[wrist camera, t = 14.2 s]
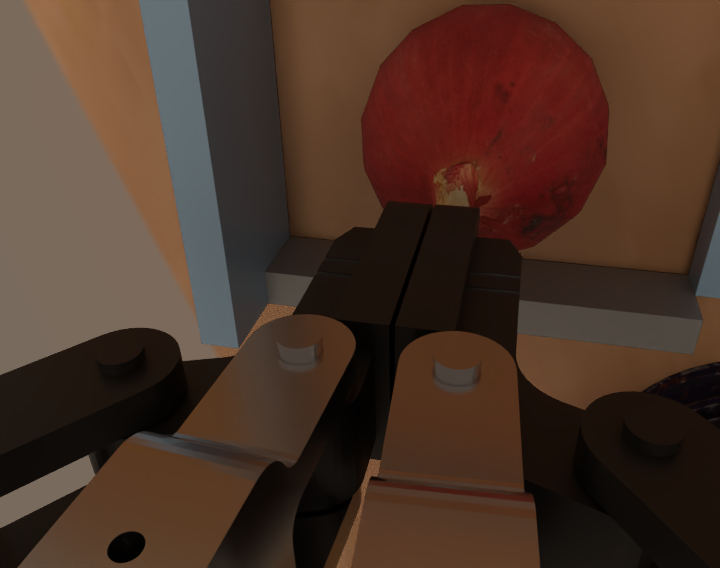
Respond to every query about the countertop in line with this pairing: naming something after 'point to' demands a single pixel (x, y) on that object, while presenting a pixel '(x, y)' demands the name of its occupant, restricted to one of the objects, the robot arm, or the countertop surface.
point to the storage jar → (694, 390)
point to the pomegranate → (488, 121)
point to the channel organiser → (304, 255)
